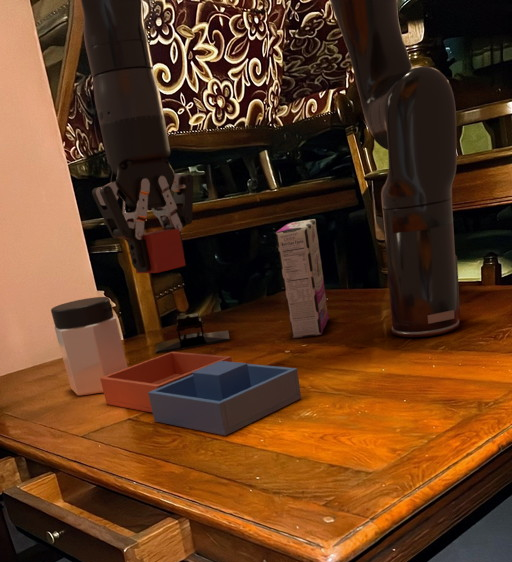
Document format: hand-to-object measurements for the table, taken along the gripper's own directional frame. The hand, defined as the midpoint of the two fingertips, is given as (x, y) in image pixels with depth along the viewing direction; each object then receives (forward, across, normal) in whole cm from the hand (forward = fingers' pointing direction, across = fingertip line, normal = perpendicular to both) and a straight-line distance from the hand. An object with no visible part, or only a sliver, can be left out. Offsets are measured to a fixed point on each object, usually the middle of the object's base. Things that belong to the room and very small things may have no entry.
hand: (160, 266), depth 87 cm
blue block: (+15, -5, -14) cm, 21 cm away
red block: (0, 0, 0) cm, 0 cm away
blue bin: (+16, -5, -14) cm, 21 cm away
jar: (+16, -4, +14) cm, 22 cm away
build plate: (+16, +18, +20) cm, 31 cm away
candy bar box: (+16, +29, +3) cm, 33 cm away
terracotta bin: (+16, -3, -1) cm, 16 cm away
